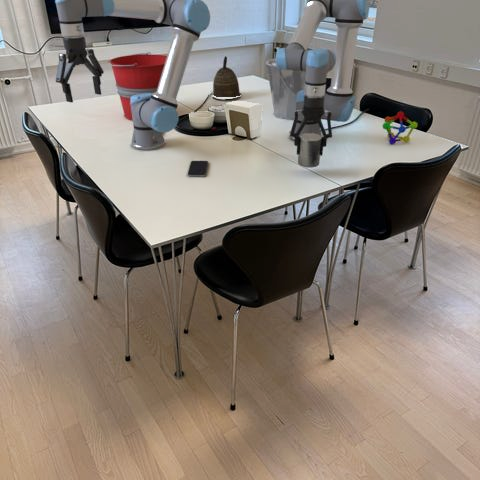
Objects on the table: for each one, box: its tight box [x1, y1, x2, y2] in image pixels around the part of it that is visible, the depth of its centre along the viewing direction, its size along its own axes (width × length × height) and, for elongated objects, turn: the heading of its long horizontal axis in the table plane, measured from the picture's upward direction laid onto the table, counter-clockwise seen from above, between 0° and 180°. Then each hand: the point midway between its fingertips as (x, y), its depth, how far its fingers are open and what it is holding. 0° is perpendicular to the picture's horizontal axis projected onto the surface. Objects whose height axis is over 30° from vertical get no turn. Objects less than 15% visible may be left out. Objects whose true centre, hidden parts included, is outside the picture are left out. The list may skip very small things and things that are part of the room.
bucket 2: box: [265, 57, 306, 120], centre depth 242 cm, size 30×30×28 cm
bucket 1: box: [106, 51, 167, 121], centre depth 240 cm, size 35×35×30 cm
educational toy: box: [382, 110, 418, 145], centre depth 207 cm, size 16×13×15 cm
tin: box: [297, 133, 323, 168], centre depth 173 cm, size 8×8×11 cm
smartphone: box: [187, 160, 209, 177], centre depth 182 cm, size 7×1×15 cm
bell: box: [212, 56, 242, 97], centre depth 278 cm, size 19×26×20 cm
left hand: (84, 97), depth 167 cm, fingers open, 13 cm apart
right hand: (309, 153), depth 174 cm, fingers closed on tin, 8 cm apart
